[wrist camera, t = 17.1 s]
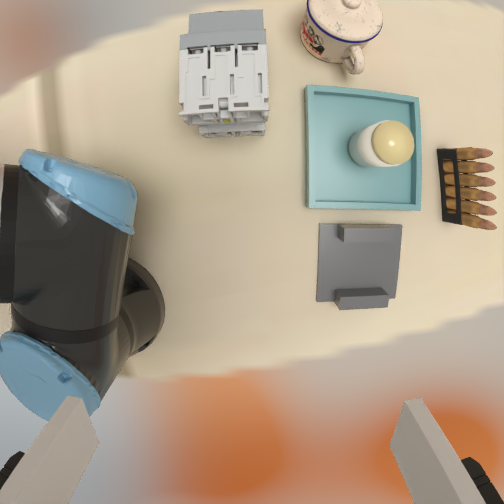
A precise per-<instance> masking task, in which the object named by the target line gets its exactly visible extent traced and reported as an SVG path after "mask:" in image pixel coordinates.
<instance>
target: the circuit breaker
mask: <svg viewBox="0 0 504 504" xmlns="http://www.w3.org/2000/svg"><path fill="white" fill-rule="evenodd" d="M268 98H269V97H268V72H267V50H266V30H265V29H264V26H263V10H236V11H218V12H209V13H199V14H191V15H189V34H184V35H180V59H179V103H180V104H181V105H182V106H183V112H179V115H180V116H183V120H184V122H186V123H187V124H188V125H199V126H200V127H199V130H200V134H201V135H203V136H205V138H211V137H229V136H256V135H264V134H265V121H267V120H268V111H269V107H268ZM239 131H240V133H236V132H239ZM252 131H257V132H252ZM229 132H231V133H229ZM212 133H216V134H212Z"/></svg>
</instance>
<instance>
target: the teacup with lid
mask: <svg viewBox="0 0 504 504" xmlns="http://www.w3.org/2000/svg"><path fill="white" fill-rule="evenodd" d="M382 23H383V16H382V12H381V9H380V7H379V5H378V3H377V2H376V0H307V10H306V13H305V16H304V19H303V22H302V25H301V30H300V35H301V39H302V42H303V44H304V46H305V47H306V49H307V50H308V51H309V52H310V53H311V54H313V55H314V56H315V57H317V58H319V59H321V60H323V61H326V62H331V63H342V62H343V64H344V66H345V68H346V70H347V71H348V72H349V73H351V74H360V73H362V72H363V70H364V66H365V63H364V56H363V53H362V50H361V49H362V48H363V47H364V46H365V45H366V44H367V43H368V42H369V40H371V39H373V38H374V37H376V36H377V35H378V33H379V32H380V30H381V28H382ZM352 58H354V64H353V62H352V60H351V59H352Z"/></svg>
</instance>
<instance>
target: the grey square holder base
mask: <svg viewBox="0 0 504 504" xmlns="http://www.w3.org/2000/svg"><path fill="white" fill-rule="evenodd" d="M401 236H402V225H392V224H319V255H318V279H317V298H316V301H317V302H328V301H334V302H335V303H336V305H337V307H338V308H339V310H349V309H368V308H384V307H388V301H389V299H391V298H395V295H396V287H397V279H398V270H399V260H400V249H401Z"/></svg>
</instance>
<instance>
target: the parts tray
mask: <svg viewBox="0 0 504 504" xmlns="http://www.w3.org/2000/svg"><path fill="white" fill-rule="evenodd" d="M304 93H305V126H306V207H308V208H345V209H387V210H415V211H420V210H421V176H422V157H421V125H420V108H419V98H418V97H412V96H406V95H400V94H394V93H387V92H380V91H372V90H364V89H355V88H345V87H333V86H319V85H307V86H306V88H305V89H304ZM384 120H394V121H398V122H401V123H403V124H404V125H405V126H407V128H408V129H409V130H410V132H411V133H412V135H413V138H414V151H413V154H412V156H411V157H410V159H409V160H408V161H406V162H405V163H402V164H401V165H398V166H391V167H363V166H360V165H358V164H357V163H355V162H354V161H353V160H352V159H351V157H350V155H349V152H348V143H349V140H350V138H351V137H352V136H353V134H354V133H356V132H357V131H359V130H361V129H364V128H366V127H369V126H371V125H374V124H376V123H378V122H381V121H384Z"/></svg>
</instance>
